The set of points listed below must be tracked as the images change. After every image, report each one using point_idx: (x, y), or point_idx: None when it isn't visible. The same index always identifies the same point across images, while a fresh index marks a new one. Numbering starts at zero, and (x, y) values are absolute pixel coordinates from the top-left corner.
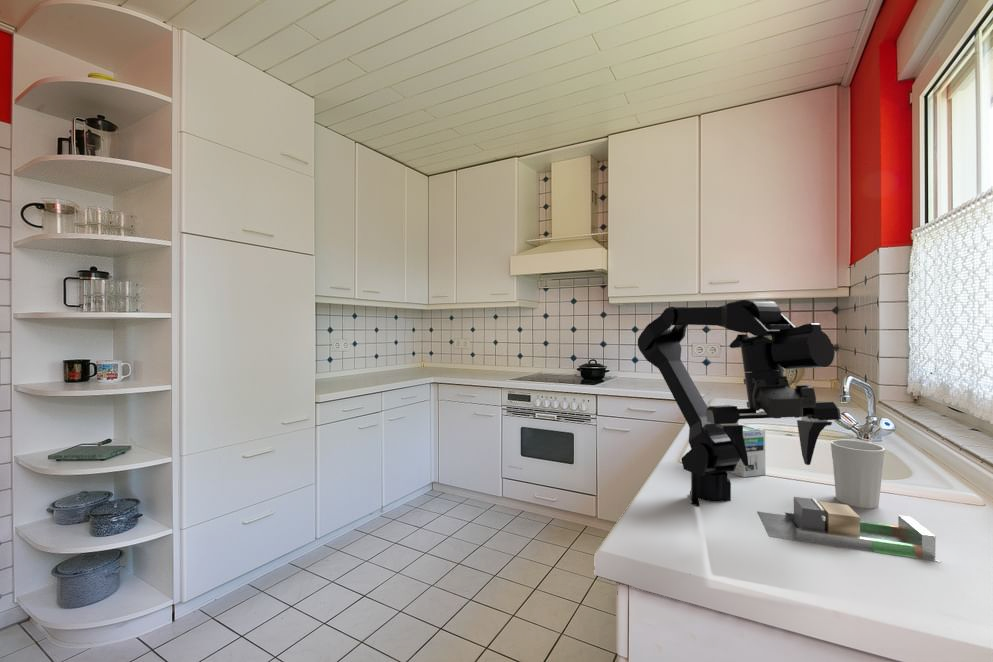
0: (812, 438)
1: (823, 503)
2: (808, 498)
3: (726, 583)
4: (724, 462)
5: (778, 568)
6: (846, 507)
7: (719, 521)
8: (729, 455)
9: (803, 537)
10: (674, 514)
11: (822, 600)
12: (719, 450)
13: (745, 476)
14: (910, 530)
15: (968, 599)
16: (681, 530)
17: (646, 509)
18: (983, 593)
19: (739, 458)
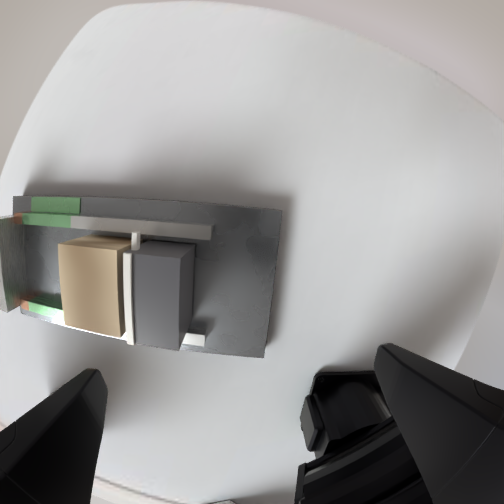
0: (4, 448)
1: (111, 325)
2: (141, 344)
3: (390, 47)
4: (365, 448)
5: (294, 99)
6: (69, 306)
7: (356, 306)
8: (355, 470)
9: (199, 223)
10: (432, 310)
11: (252, 21)
12: (404, 463)
13: (226, 501)
14: (8, 262)
15: (37, 112)
16: (439, 233)
17: (467, 314)
18: (14, 141)
19: (307, 481)
